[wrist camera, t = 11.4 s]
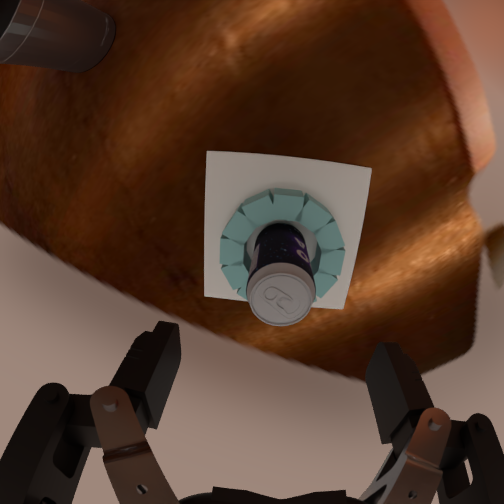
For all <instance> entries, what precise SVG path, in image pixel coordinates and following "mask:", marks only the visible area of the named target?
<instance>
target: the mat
mask: <svg viewBox="0 0 504 504" xmlns="http://www.w3.org/2000/svg"><path fill="white" fill-rule="evenodd" d="M371 171H372V169H371V168H368V167H362V166H356V165H350V164H344V163H337V162H330V161H323V160H315V159H307V158H299V157H290V156H280V155H269V154H257V153H243V152H225V151H207V160H206V186H205V229H204V295H205V296H207V297H216V298H224V299H233V300H242V301H248V300H246V299H244V298H243V297H241V296H239V295H238V294H237V290H238V289H235V290H233V289H232V287H231V286H230V284H229V282H228V281H227V279H226V277H225V275H224V274H223V272H222V270H221V267H222V264H219V262H220V238H221V236H222V232H223V230H224V229H225V227H226V225H227V223H228V222H229V220H230V219H231V217H232V216H233V214H234V213H235V211H236V210H237V208H238V207H239V206H240V204H241V203H244V201H245V199H248V198H250V197H252V196H254V195H256V194H258V193H261V192H263V191H265V190H267V189H270V191H271V193H272V195H273V197H274V188H282V189H292V190H301V191H302V193H303V196H304V195H305V193H308V194H309V195H310V196H312V197H313V198H314V199H316V200H317V201H318V202H320V203H321V204H322V205H324V206H325V207H326V208H327V209H328V210H329V212H330V213H331V214H332V216H333V217H334V219H335V220H336V223H337V225H338V228H339V231H340V233H341V236H342V239H343V241H344V244H345V246H343V247H344V249H345V256H344V261H343V265H342V270H341V274H340V276H339V275H336V276H337V279H338V280H337V282H336V283H335V284H334V285H333V286H332V287H331V288H330V289H329V290H328V292H327V293H326V294H325V295H324V296H323V297H322V298H319V297H318V296H316V299H317V301H316V302H314V303H313V304H312V306H311V307H318V308H331V309H343V308H344V304H345V300H346V296H347V292H348V289H349V285H350V280H351V276H352V272H353V268H354V264H355V259H356V255H357V250H358V245H359V240H360V236H361V230H362V225H363V220H364V215H365V209H366V203H367V197H368V191H369V185H370V178H371ZM276 223H285V224H289V225H292V226H294V227H295V228H297V229H298V230H299V231H300V232H301V233H302V235H303V237H304V239H305V243H306V247H307V251H308V255H309V259H310V262H311V261H312V260H313V259H314V257H315V253H316V247H317V239H316V237H315V234H314V233H313V232H311V231H310V230H308V229H307V228H306V227H304V226H303V225H301V224H300V223H299V222H297V221H287V220H277V219H275V220H273V221H271V222H268V223H266V224H264V225H261V226H259V227H257V228H256V229H255V230H254V231H253V233H252V234H251V235H250V237H249V238H248V240H247V249H246V250H247V252H248V254H249V256H250V258H251V260H252V256H253V252H254V247H255V242H256V239H257V236H258V235H259V233H260V232H261V231H262V230H263V229H264V228H266V227H267V226H269V225H272V224H276Z"/></svg>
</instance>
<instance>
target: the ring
mask: <svg viewBox="0 0 504 504" xmlns="http://www.w3.org/2000/svg"><path fill="white" fill-rule="evenodd" d="M275 219H277V220H287V221H297V222H299V223H300V224H301V225H303V226H304V227H306V228H307V229H308V230H310V231H311V232H313V233H314V234H315V237H316V239H317V247H316V253H315V257H314V259H313V260H312V261H311V262H310V264H311V268H312V272H313V277H314V281H315V286H316V295H315V299H314V302H316V301H317V299H316V296H318V297H319V298H322V297H323V296H324V295H325V294H326V293H327V292H328V290H329V289H330V288H331V287H332V286H333V285H334V284H335V283H336V282H337V280H338V279H337V276H336V275H339V276H340V274H341V270H342V265H343V261H344V256H345V249H344V247H343V246H345V244H344V241H343V239H342V236H341V233H340V231H339V228H338V225H337V223H336V220H335V219H334V217H333V216H332V214H331V213H330V212H329V210H328V209H327V208H326V207H325V206H324V205H322V204H321V203H320V202H318V201H317V200H316V199H314V198H313V197H312V196H310V195H309V194H308V193H305V195H304V196H303V193H302V191H301V190H292V189H282V188H274V197H273V195H272V193H271V191H270V189H267V190H265V191H263V192H261V193H258V194H256V195H254V196H252V197H250V198H248V199H245V201H244V203H241V204H240V206H239V207H238V208H237V210H236V211H235V213H234V214H233V216H232V217H231V219H230V220H229V222H228V223H227V225H226V227H225V229H224V230H223V232H222V236H221V238H220V262H219V264H222V267H221V270H222V272H223V274H224V275H225V277H226V279H227V281H228V282H229V284H230V286H231V287H232V289H233V290H235V289H238V290H237V294H238V295H239V296H241V297H243V298H244V299H246V300H247V296H246V286H247V281H248V276H249V271H250V266H251V261H252V260H251V258H250V256H249V254H248V252H247V250H246V249H247V240H248V238H249V237H250V235H251V234H252V233H253V231H254V230H255V229H256V228H257V227H259V226H261V225H264V224H266V223H268V222H271V221H273V220H275ZM314 302H313V303H314Z"/></svg>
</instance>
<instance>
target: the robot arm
mask: <svg viewBox="0 0 504 504" xmlns="http://www.w3.org/2000/svg"><path fill="white" fill-rule="evenodd" d="M114 36H115V23H114V21H113V19H112V18H111V17H110V16H109V15H108V14H106V13H104V12H102V11H100V10H99V9H97V8H95V7H93V6H91V5H89V4H87V3H85V2H83V1H81V0H0V63H1V64H16V65H26V66H35V67H43V68H51V69H56V70H63V71H69V72H75V73H80V72H84V71H87V70H89V69H91V68H92V67H94V66H95V65H96V64H97V63H98V62H100V61H101V60H102V58H103V57H104V56H105V55H106V53H107V52H108V50H109V49H110V47H111V44H112V42H113V39H114ZM180 361H181V344H180V333H179V325H178V324H176V323H171V322H164V321H159V322H158V323H157V325H156V327H155V329H154V330H153V332H148V331H145V332H143V333H142V334H141V335H140V336H138V337H137V338H136V339H135V340H134V343H133V344H132V346H131V348H130V350H129V351H128V353H127V354H126V357H125V358H124V360H123V361H122V363H121V365H120V367H119V368H118V370H117V372H116V374H115V376H114V378H113V379H112V381H111V383H110V385H109V386H105V387H102V388H100V389H98V390H96V391H95V392H94V393H93V394H92V395H79V394H69V392H68V391H67V389H66V388H65V387H64V386H63V385H61V384H59V383H48V384H45V385H43V386H42V387H41V388H40V389H39V390H38V391H37V393H36V395H35V396H34V398H33V399H32V401H31V403H30V405H29V406H28V408H27V410H26V411H25V413H24V415H23V417H22V419H21V420H20V422H19V424H18V426H17V428H16V430H15V432H14V433H13V435H12V437H11V439H10V441H9V443H8V445H7V447H6V449H5V451H4V453H3V456H2V457H1V459H0V504H72V501H73V498H74V495H75V492H76V488H77V485H78V483H79V480H80V477H81V474H82V471H83V468H84V466H85V463H86V460H87V457H88V455H89V452H90V449H91V447H97V448H102V449H103V452H104V456H103V462H104V465H105V468H106V471H107V474H108V476H109V479H110V482H111V484H112V487H113V489H114V491H115V494H116V496H117V498H118V501H119V503H120V504H431V502H432V500H433V497H434V495H435V493H436V491H437V492H438V498H439V503H440V504H504V454H503V451H502V448H501V446H500V443H499V440H498V437H497V435H496V432H495V430H494V427H493V425H492V423H491V421H490V419H489V418H488V417H487V416H485V415H483V414H480V413H476V414H473V415H472V416H471V417H470V418H469V419H468V420H467V421H466V422H465V421H456V420H450V417H449V416H448V414H447V413H446V412H444V411H443V410H441V409H439V408H435V407H434V405H433V403H432V400H431V398H430V395H429V393H428V391H427V389H426V386H425V384H424V382H423V381H422V377H421V375H420V373H419V371H418V368H417V366H416V364H415V362H414V361H413V360H412V359H411V358H410V357H409V356H408V355H407V354H403V352H402V350H401V348H400V346H399V344H398V343H397V342H380V343H378V345H377V347H376V349H375V352H374V354H373V356H372V358H371V360H370V363H369V365H368V367H367V370H366V384H367V387H368V391H369V395H370V398H371V402H372V406H373V410H374V414H375V418H376V422H377V426H378V430H379V434H380V439H381V443H382V444H388V443H392V446H393V448H392V449H391V451H390V452H389V454H388V456H387V458H386V460H385V461H384V463H383V465H382V466H381V468H380V470H379V472H378V473H377V475H376V477H375V478H374V480H373V481H372V483H371V485H370V486H369V487H368V488H367V490H366V491H365V492H364V493H363V494H362V495H361V497H360V498H359V499H356V498H352V497H347V496H346V490H338V491H325V492H313V493H309V494H305V495H301V496H296V497H292V498H287V499H276V498H272V497H268V496H264V495H260V494H257V493H254V492H250V491H247V490H238V489H229V488H221V487H213V490H212V492H210V493H201V494H196V495H192V496H188V497H186V498H183V499H181V500H179V501H178V499H177V497H176V496H175V494H174V492H173V491H172V489H171V487H170V485H169V483H168V482H167V480H166V478H165V476H164V475H163V472H162V470H161V468H160V467H159V465H158V463H157V461H156V459H155V457H154V454H153V452H152V450H151V448H150V446H149V444H148V442H147V440H146V438H145V434H146V431H147V428H148V427H149V428H154V429H157V427H158V424H159V421H160V418H161V416H162V413H163V410H164V407H165V404H166V401H167V398H168V396H169V393H170V390H171V387H172V385H173V382H174V379H175V376H176V374H177V371H178V368H179V365H180ZM467 459H468V460H469V464H470V467H471V471H472V475H473V481H472V484H471V485H470V482H469V478H468V474H467V470H466V467H465V463H464V461H465V460H467Z"/></svg>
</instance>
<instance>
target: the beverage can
mask: <svg viewBox="0 0 504 504" xmlns="http://www.w3.org/2000/svg"><path fill="white" fill-rule="evenodd" d="M315 295H316V286H315V281H314V277H313V272H312V268H311V264H310V259H309V255H308V251H307V247H306V243H305V239H304V237H303V235H302V233H301V232H300V231H299V230H298V229H297V228H295V227H294V226H292V225H289V224H285V223H276V224H272V225H269V226H267V227H266V228H264V229H263V230H262V231H261V232H260V233H259V235H258V236H257V239H256V242H255V247H254V252H253V256H252V261H251V266H250V271H249V276H248V281H247V286H246V296H247V300H248V302H249V304H250V307H251V309H252V311H253V313H254V314H255V315H256V316H257V317H258V318H259V319H260V320H261V321H263V322H265V323H267V324H270V325H274V326H288V325H292V324H294V323H297V322H299V321H300V320H302V319H303V318H304V317H305V316H306V315H307V314H308V312H309V311H310V309H311V306H312V304H313V302H314V299H315Z"/></svg>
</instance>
